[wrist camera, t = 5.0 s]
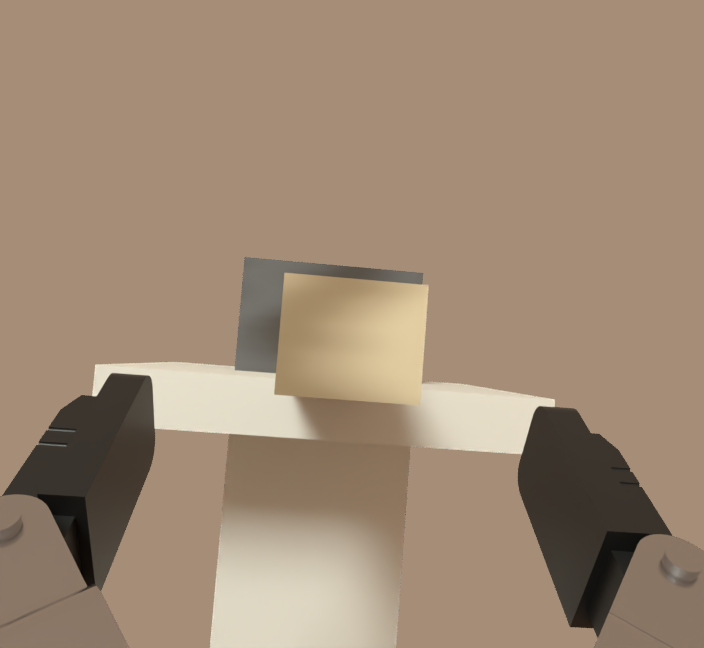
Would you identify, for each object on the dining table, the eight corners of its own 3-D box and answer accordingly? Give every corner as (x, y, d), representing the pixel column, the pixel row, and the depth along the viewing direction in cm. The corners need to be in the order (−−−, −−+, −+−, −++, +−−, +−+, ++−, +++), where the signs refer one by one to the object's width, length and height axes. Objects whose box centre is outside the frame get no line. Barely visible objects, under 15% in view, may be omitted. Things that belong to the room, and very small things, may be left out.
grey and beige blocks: (148, 385, 13) (172, 141, 13) (247, 367, 33) (255, 274, 34) (538, 414, 13) (552, 178, 13) (395, 379, 34) (402, 287, 34)
